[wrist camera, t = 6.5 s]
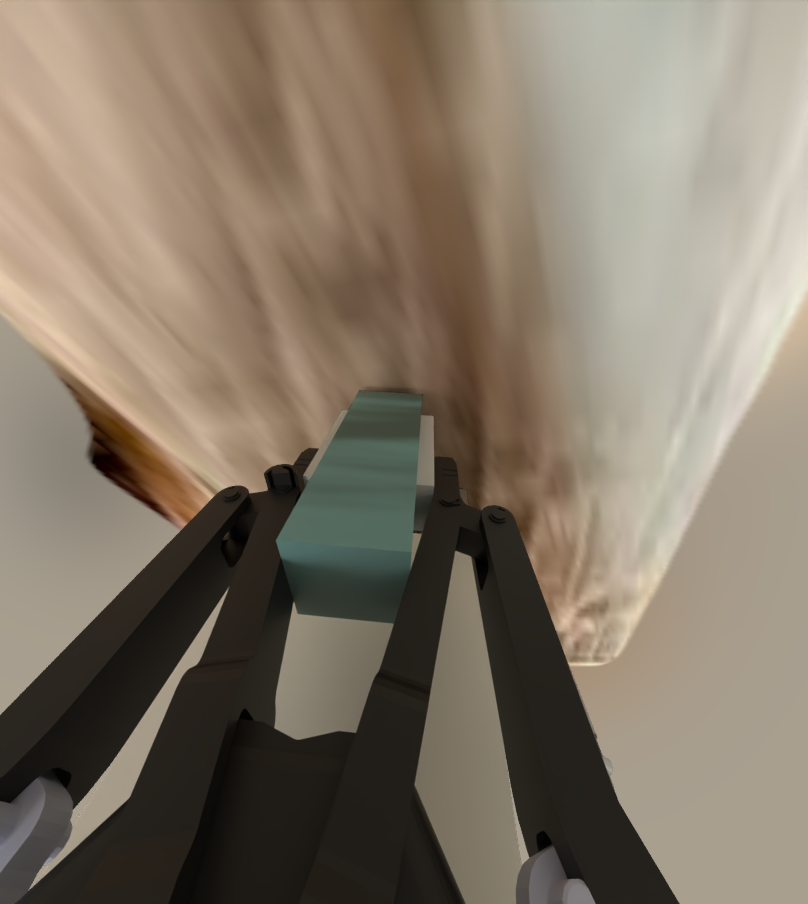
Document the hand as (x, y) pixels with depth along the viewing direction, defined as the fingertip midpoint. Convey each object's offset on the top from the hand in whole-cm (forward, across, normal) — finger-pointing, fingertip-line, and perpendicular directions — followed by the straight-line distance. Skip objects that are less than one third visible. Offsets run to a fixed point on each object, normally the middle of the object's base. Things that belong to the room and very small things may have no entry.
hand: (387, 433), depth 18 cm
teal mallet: (+2, 0, -8) cm, 8 cm away
